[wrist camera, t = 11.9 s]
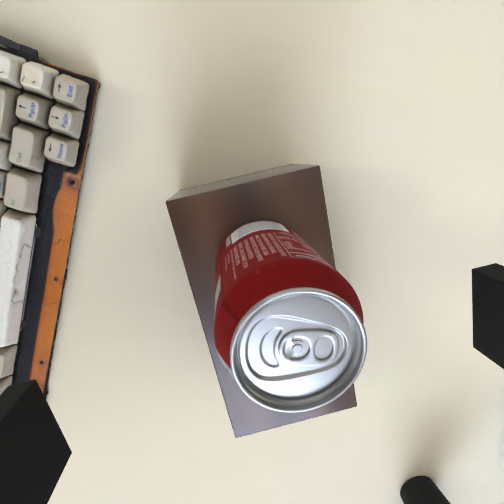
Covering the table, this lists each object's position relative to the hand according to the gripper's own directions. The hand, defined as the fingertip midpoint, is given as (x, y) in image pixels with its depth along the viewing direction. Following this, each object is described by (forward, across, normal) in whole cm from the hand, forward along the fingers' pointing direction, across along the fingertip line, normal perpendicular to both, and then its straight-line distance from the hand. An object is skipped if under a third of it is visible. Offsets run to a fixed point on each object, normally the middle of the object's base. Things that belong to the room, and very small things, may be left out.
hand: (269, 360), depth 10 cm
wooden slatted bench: (+24, +2, -7) cm, 24 cm away
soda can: (+15, +1, -2) cm, 15 cm away
